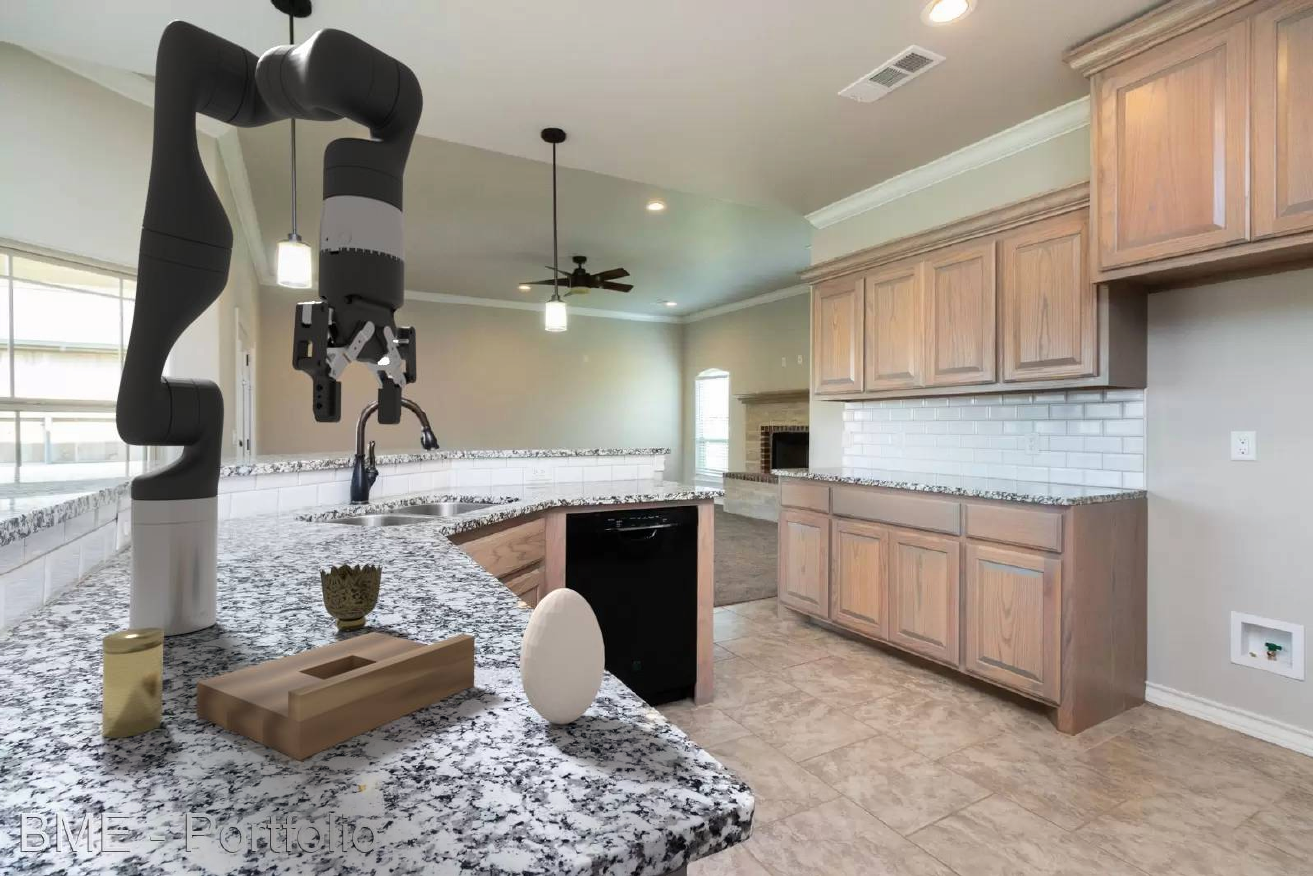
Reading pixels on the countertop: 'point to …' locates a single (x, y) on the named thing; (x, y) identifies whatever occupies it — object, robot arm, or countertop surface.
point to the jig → (335, 690)
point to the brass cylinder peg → (132, 682)
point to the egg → (562, 657)
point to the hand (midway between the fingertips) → (360, 423)
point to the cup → (351, 594)
